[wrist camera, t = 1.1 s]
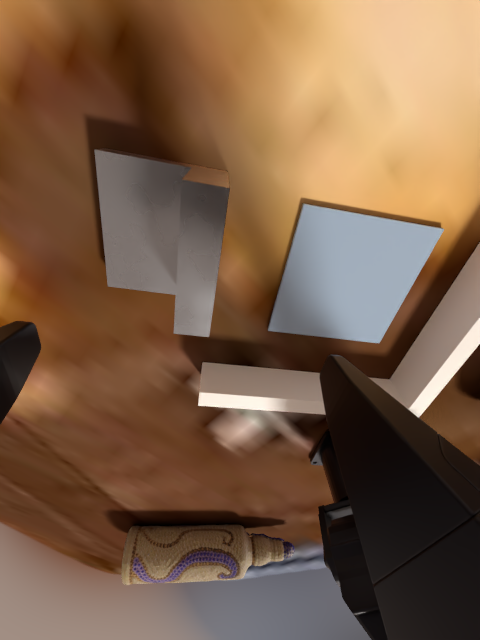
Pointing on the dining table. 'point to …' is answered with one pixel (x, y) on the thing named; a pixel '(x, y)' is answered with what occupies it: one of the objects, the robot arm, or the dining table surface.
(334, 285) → the mat
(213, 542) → the decorative bottle
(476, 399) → the dining table surface
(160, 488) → the dining table surface
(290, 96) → the dining table surface
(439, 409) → the dining table surface
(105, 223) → the bracket
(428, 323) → the l-shaped block
